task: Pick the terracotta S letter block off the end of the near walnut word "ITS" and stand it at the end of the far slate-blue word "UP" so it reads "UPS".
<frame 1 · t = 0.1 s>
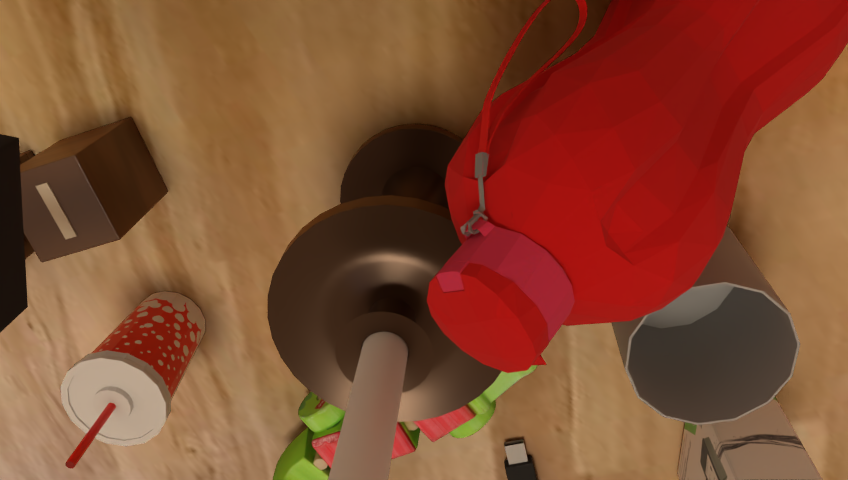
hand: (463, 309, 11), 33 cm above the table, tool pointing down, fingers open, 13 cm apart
ink box: (718, 424, 52), on the table
toy crocodile: (401, 387, 53), on the table
candlestick: (417, 195, 46), on the table, touching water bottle
tile I: (114, 166, 47), on the table
beverage cup: (173, 319, 52), on the table
cup: (666, 264, 47), on the table
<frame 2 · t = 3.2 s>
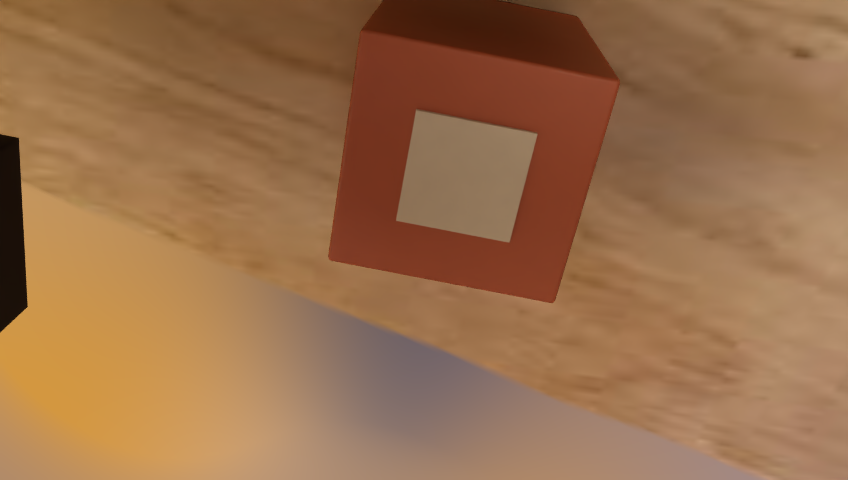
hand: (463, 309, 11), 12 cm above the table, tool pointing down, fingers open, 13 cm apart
tile S: (469, 88, 22), on the table
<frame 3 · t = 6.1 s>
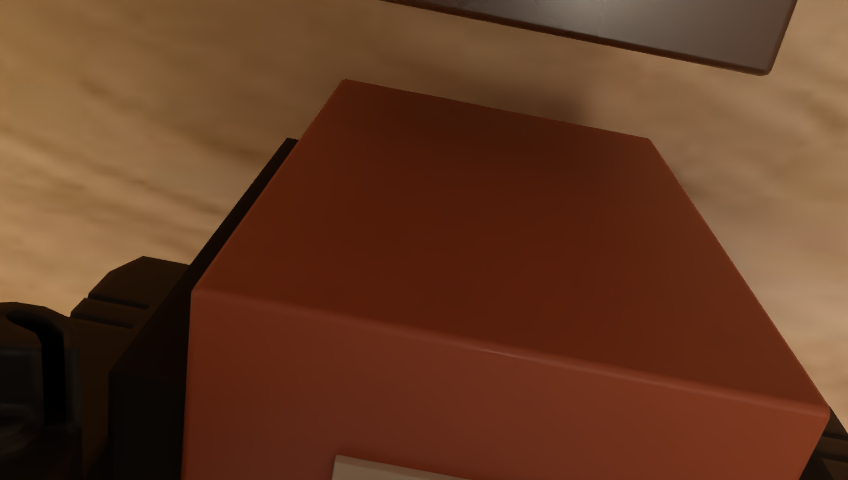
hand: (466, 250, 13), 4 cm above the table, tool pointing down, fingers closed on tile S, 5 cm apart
tile S: (465, 247, 13), point 4 cm above the table, touching gripper
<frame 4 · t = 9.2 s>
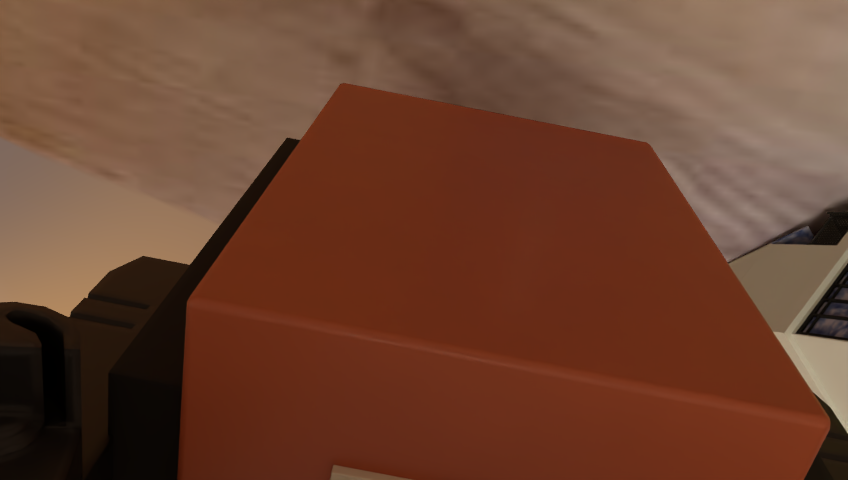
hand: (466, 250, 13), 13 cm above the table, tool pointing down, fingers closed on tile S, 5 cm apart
tile S: (464, 251, 13), point 13 cm above the table, touching gripper
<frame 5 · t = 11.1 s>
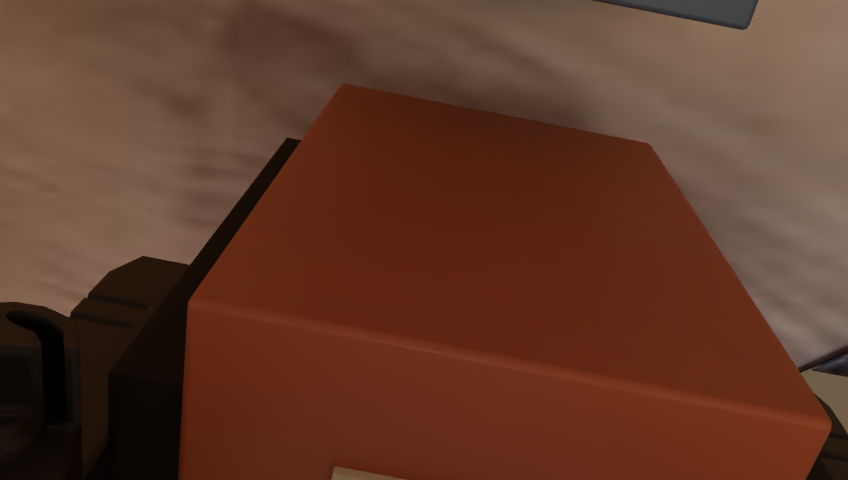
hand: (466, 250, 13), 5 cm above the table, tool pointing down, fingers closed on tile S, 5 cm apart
tile S: (464, 252, 13), point 4 cm above the table, touching gripper
when the fingers open (0 cm above the table, at t = 12.4 s): tile S stays where it is, on the table.
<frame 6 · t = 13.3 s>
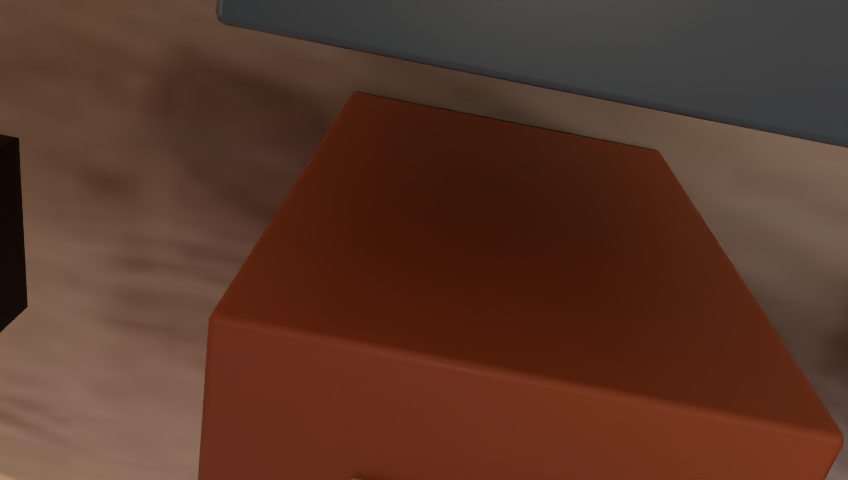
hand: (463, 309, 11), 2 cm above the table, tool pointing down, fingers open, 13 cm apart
tile S: (474, 258, 13), on the table
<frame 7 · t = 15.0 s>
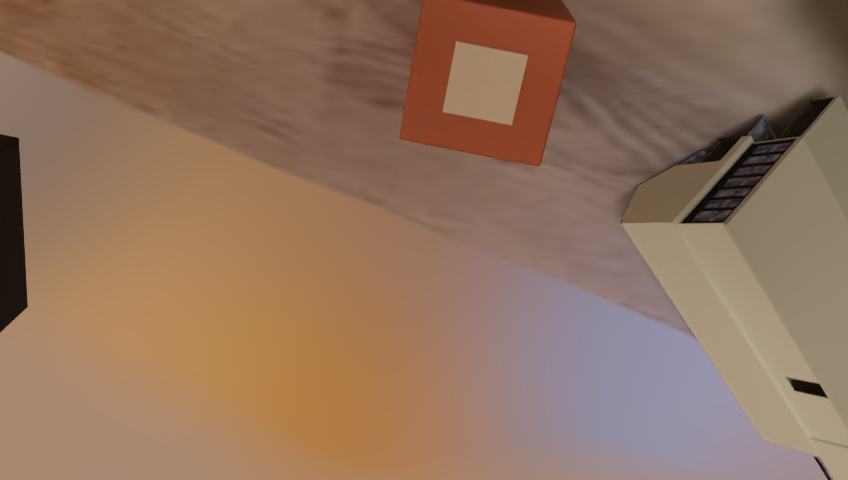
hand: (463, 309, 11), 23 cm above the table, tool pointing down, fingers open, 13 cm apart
tile S: (485, 44, 32), on the table
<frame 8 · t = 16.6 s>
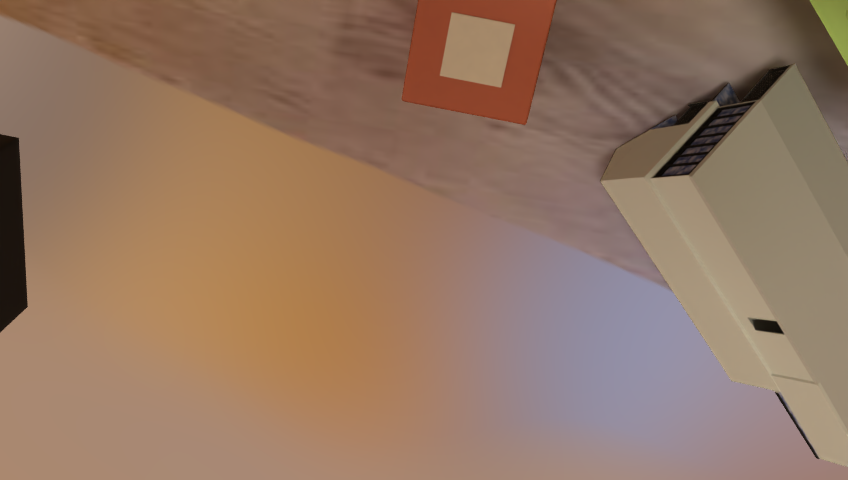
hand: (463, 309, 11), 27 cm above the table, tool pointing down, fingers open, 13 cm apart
tile S: (477, 19, 35), on the table
building: (825, 286, 34), point 5 cm above the table
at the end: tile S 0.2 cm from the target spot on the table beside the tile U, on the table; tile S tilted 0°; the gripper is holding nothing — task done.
